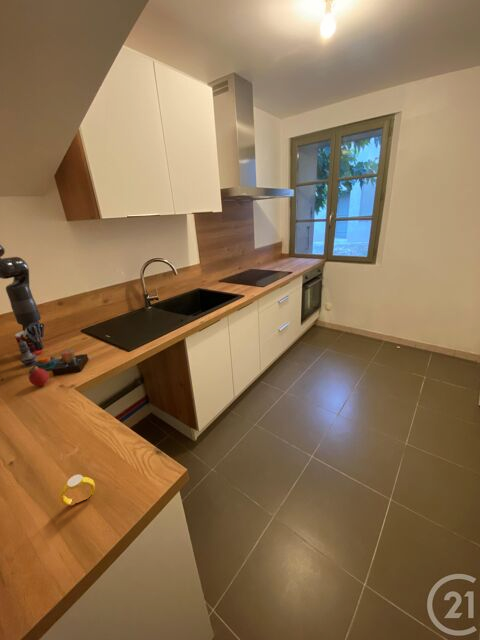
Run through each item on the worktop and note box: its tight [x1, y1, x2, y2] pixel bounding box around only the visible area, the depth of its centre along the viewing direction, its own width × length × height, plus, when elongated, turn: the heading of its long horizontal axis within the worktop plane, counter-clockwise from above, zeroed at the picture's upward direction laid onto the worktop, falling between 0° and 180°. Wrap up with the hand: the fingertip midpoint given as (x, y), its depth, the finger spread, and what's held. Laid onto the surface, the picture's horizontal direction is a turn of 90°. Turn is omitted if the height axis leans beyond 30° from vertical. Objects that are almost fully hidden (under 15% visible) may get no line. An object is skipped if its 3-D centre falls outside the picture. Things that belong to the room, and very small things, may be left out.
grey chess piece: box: [17, 340, 39, 368], centre depth 112 cm, size 6×6×12 cm
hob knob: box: [60, 348, 76, 364], centre depth 108 cm, size 4×4×5 cm
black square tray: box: [51, 353, 89, 377], centre depth 109 cm, size 10×10×3 cm
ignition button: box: [38, 355, 51, 363], centre depth 110 cm, size 4×4×2 cm
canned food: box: [14, 330, 43, 357], centre depth 122 cm, size 8×8×11 cm
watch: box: [60, 474, 96, 506], centre depth 55 cm, size 6×3×6 cm, turn 117°
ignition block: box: [28, 356, 61, 375], centre depth 111 cm, size 10×8×3 cm
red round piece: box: [28, 367, 50, 387], centre depth 97 cm, size 6×6×8 cm
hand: (40, 349), depth 108 cm, fingers closed
